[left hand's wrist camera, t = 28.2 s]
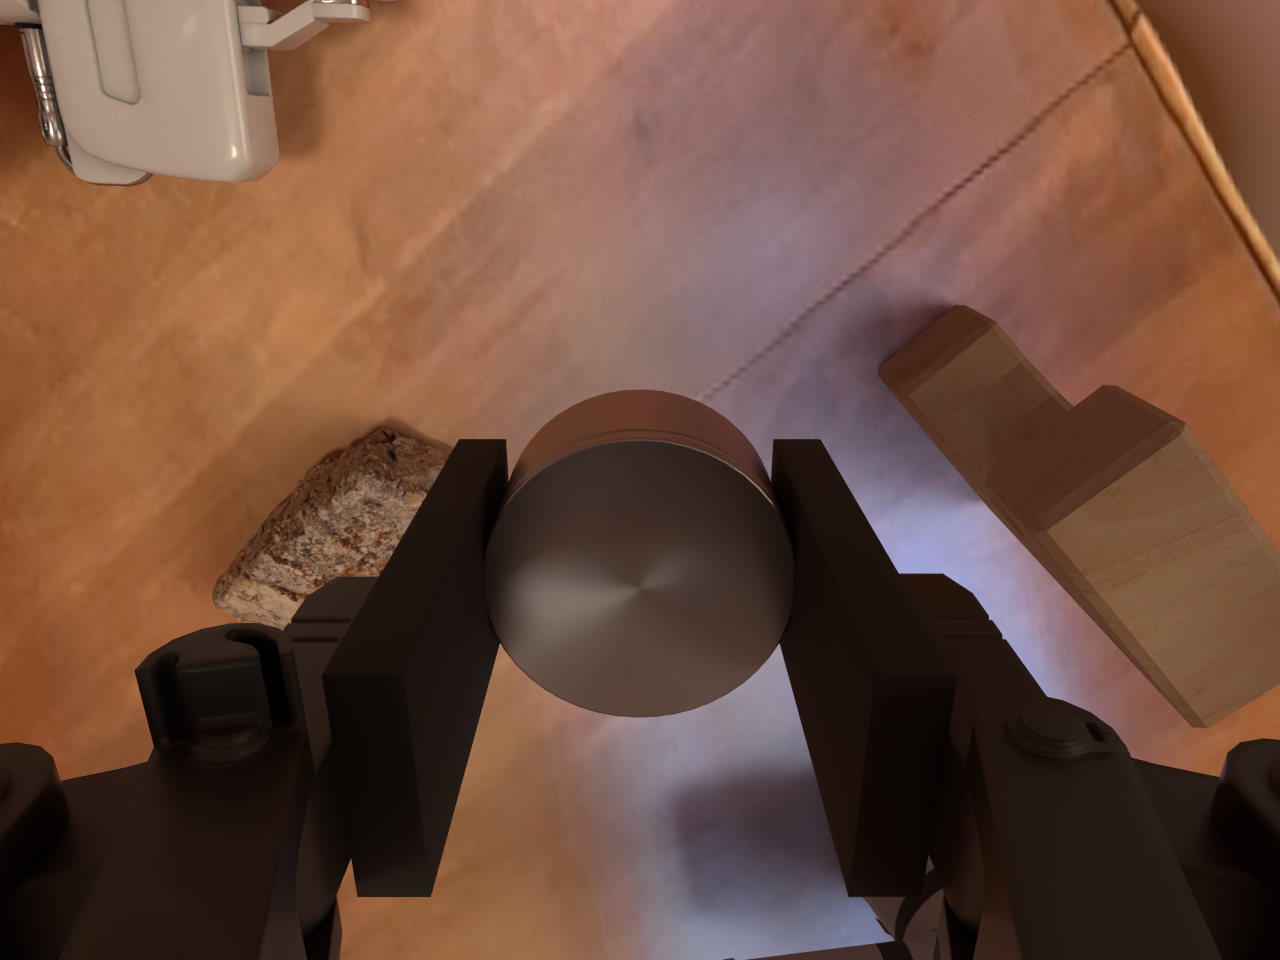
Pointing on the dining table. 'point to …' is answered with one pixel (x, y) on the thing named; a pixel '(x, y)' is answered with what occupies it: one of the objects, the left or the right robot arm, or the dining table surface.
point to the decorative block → (1107, 511)
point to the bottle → (385, 0)
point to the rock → (331, 527)
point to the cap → (639, 557)
